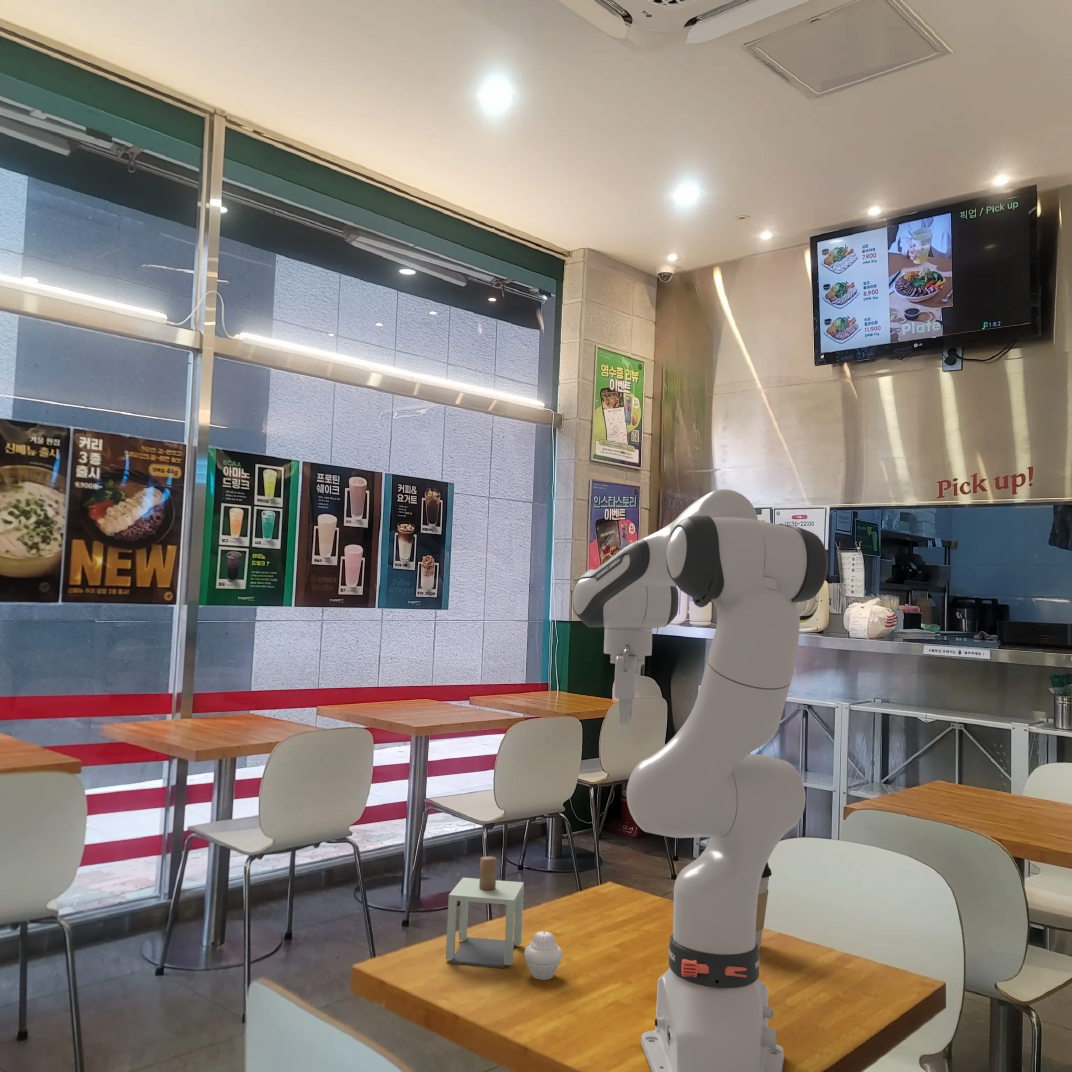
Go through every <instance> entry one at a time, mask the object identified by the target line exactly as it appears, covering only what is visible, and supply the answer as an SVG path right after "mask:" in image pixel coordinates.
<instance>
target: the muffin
mask: <svg viewBox="0 0 1072 1072" xmlns="http://www.w3.org/2000/svg"><path fill="white" fill-rule="evenodd" d="M523 954H524V955H523V956H524V958H525V963H526V965H527V966H528V969H529V970H530V974H531V976H532V977H533V978H534V979H536V980H541V981H546V980H547V981H548V980H551V979H553V977H554V975H555V974H556V971H557V969H558V968H559V966H560V964H561V960H562V958H563V950H562V948H560V946H559V945H558V943H557V942H556V937H555V935H554V934H553V933H552V932H550V931H537V932H536V933H535V934H534V935H533V937H532V940H531V942H530V943H529V944H528V945H527V946H526V947H525V949H524V953H523Z"/></svg>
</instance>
